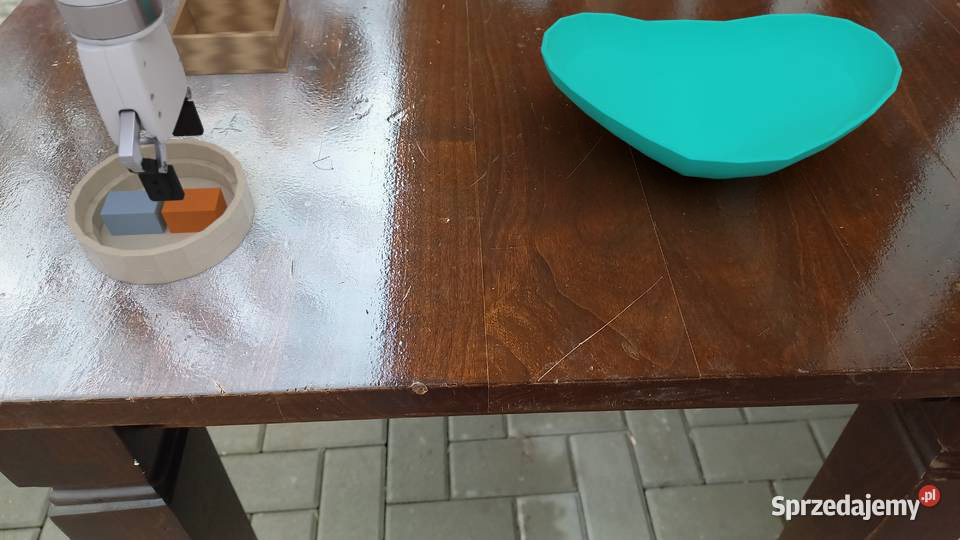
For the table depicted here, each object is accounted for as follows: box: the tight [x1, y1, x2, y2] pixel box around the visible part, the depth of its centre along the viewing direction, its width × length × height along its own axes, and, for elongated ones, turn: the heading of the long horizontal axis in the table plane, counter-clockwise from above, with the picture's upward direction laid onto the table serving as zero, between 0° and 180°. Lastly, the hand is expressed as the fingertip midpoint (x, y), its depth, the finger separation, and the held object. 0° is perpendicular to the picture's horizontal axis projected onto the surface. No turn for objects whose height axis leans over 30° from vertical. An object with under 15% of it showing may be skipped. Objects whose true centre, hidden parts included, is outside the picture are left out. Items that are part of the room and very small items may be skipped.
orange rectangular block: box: [161, 188, 228, 233], centre depth 74 cm, size 6×4×3 cm, turn 94°
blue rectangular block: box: [100, 190, 167, 235], centre depth 74 cm, size 6×4×3 cm, turn 94°
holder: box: [168, 0, 296, 76], centre depth 96 cm, size 15×11×6 cm
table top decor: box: [540, 12, 903, 180], centre depth 82 cm, size 40×28×13 cm
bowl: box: [66, 138, 256, 286], centre depth 74 cm, size 18×18×5 cm
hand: (179, 165), depth 69 cm, fingers open, 9 cm apart
